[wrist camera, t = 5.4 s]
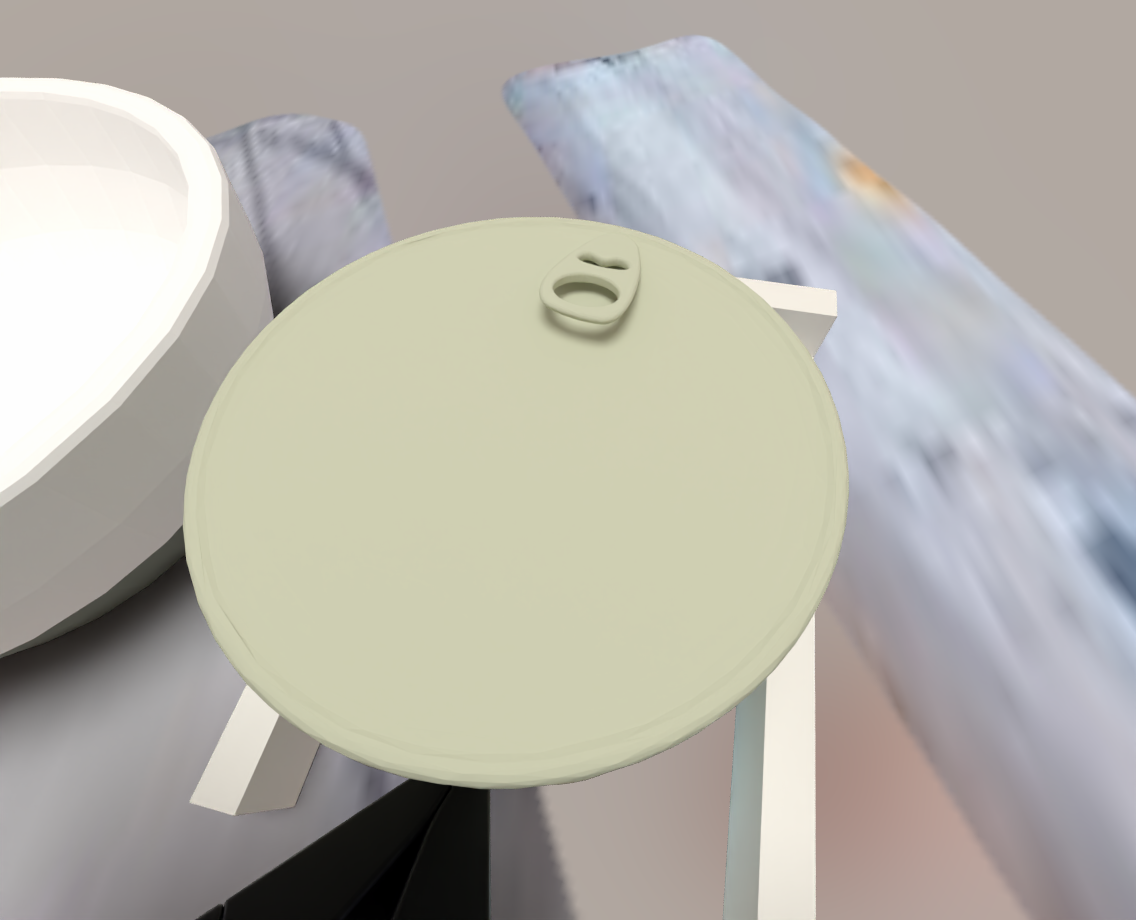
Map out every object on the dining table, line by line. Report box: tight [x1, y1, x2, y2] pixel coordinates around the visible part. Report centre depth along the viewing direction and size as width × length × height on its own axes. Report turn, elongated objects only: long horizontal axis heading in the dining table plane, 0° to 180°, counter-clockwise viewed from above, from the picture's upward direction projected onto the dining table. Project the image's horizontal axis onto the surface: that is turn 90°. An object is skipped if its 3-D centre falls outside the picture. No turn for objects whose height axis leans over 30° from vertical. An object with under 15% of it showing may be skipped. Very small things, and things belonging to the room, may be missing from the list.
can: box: [183, 217, 849, 789], centre depth 12 cm, size 9×9×12 cm
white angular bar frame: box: [189, 277, 837, 920], centre depth 16 cm, size 18×14×5 cm
